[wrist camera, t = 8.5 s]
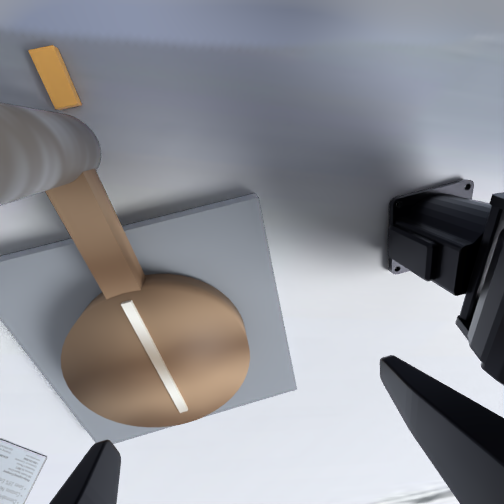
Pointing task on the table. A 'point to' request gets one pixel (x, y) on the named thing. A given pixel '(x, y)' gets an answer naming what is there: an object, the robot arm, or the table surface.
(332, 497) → the table surface
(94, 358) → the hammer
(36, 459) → the light bulb box
